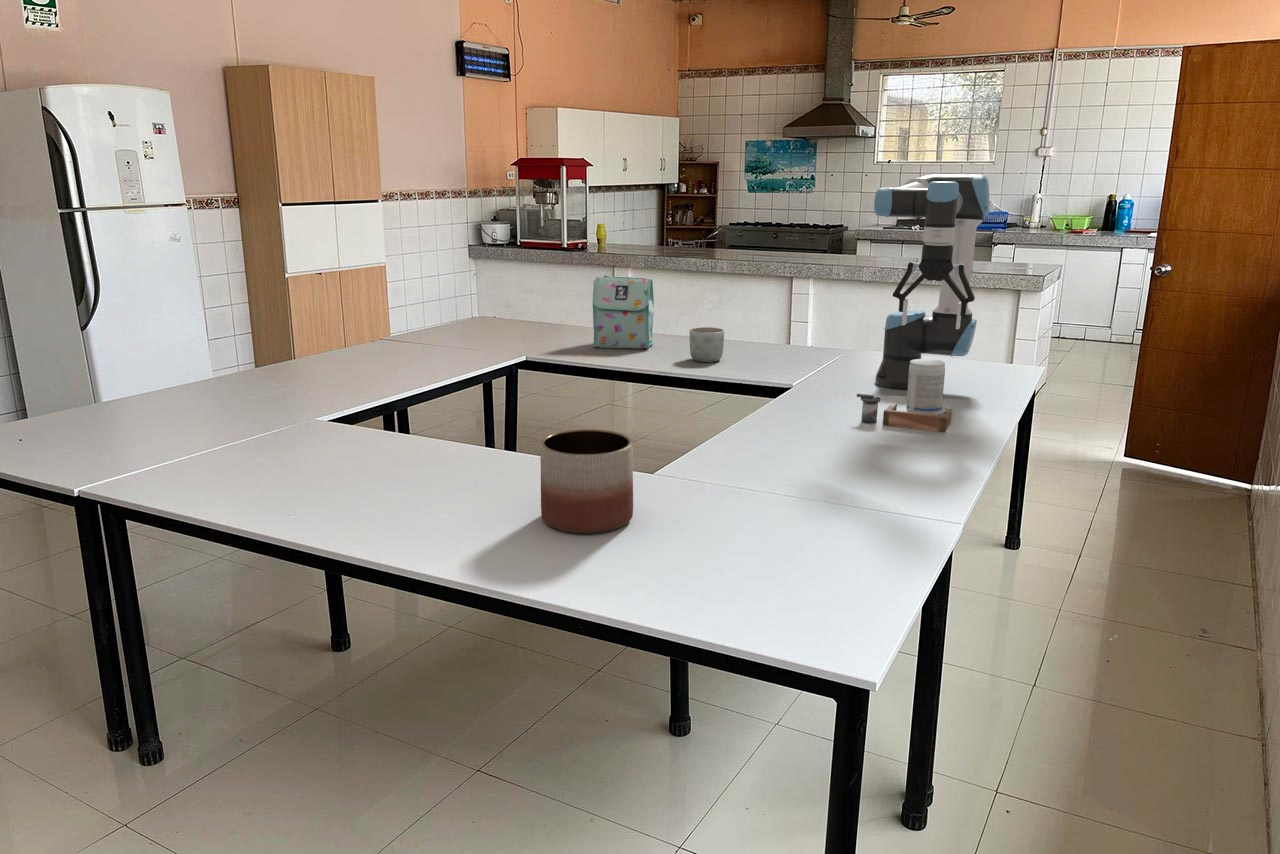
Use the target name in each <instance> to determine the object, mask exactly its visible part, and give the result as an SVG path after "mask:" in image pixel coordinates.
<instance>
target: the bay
mask: <svg viewBox="0 0 1280 854" xmlns="http://www.w3.org/2000/svg"><path fill="white" fill-rule="evenodd" d="M897 408H898V402H890V404H889V405H888V406H887V407H886V409H884V410H883V415H882V416H883V417H882V426H887V427H895V428H903V429H904V428H905V429H915V430H921V431H930V432H937V433H938V432H940V433H946V431H947V429H948V427H949V425H950V424H951V421H952V419H951V418H952V408H945V409H944V411H943V413H942V415H941V414H939V415H932V414H923V413H913V412H907V411H904V410H903V411H902V410H897Z"/></svg>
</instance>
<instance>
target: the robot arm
mask: <svg viewBox="0 0 1280 854" xmlns="http://www.w3.org/2000/svg"><path fill="white" fill-rule="evenodd" d="M987 177H988V176H986V175H984V174H975V173H956V174H954V173H949V174H948V173H947V174H945V173H944V174H943V173H942V174H941V173H932V174H926V175H923V176H919V177H915V178H912V179H909V180H907V181H906V182H905V183H904V184H902V185H900V186H898V187H890V186H889V187H888V186H887V187H879V188H878V189H877V190H876V192H875V195H874V199H873V210H874V213H875V215H876V216H878V217H885V218H889V217H890V218H892V217H893V218H894V217H895V218H897V217H898V218H907V217H908V218H924V226H923V234H922V235H923V236H922V237H923V238H922V242H923V243H924V244H923V245H922V247H921V259H920V260H921V261H920V262H919V263H918V262H914V261H909V262H908V264H907V268H906V272H905V273H904V275H903V276H902V278H901V280H900V281H899V283H898V284H897V286H896V288H895V290H894V291H893V293H892V297H894V298H897V299H898V300H899V302H898V311H895V312H892V313H890V314H888V315H887V316H886V319H885V327H884V328H883V329H884V339H883V351H882V353H883V354H882V361H881V363H880V365H879V368H878V370H877V372H876V375H875V379H874V383H875V384H876V385H877V386H879V387H885V388H889V389H896V390H897V389H898V390H908V378H909V366H910V361H911V360H914V359H922V354H924V355H925V354H926V355H936V356H937V355H938V356H948V357H965V356H967V355H968V354H969V352H970V349H971V347H972V344H973V340H974V337H975V332H976V328H977V319H975V318H973V312H972V311H971V309H970V308H969V303H971V302H974V301H975V299H976V297H975V294H974V292H973V290H972V287H971V281H972V271H973V264H974V254H975V245H976V244H975V243H976V236H977V228H978V226H979V225H981V224H982V223H983V221H984V216H988V215H989V214H990V187H989V186H990V185H989V179H988V178H987ZM917 269H919V271H920V273H921V274H920V276H919V277H917V279H915V281H914V282H913V283H911V285H909V286H908V287H907V289H906V290H905V291H904V292H902V291H903V288H904V287H905V285H906V283H907V281H908V280H909V278H910V277H911V275H912V274H913V272H915V271H916V270H917ZM924 280H927V281H928V282H932V281H937V282H940V286H939V297H938V305H937V306H936V307H935V308H933V310H932V315H931V316H930V315H929V316H928V315H927V314H926V312H925V311H924V310H916V309H915V310H908V307H909V306H908V305H909V299H908V298H907V296H909V295H910V294H911V293H912V292H913V291H914V290H915V289H916V288H917V287H918V285H920V284H921V283H922V282H923V281H924ZM901 292H902V293H901Z"/></svg>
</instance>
